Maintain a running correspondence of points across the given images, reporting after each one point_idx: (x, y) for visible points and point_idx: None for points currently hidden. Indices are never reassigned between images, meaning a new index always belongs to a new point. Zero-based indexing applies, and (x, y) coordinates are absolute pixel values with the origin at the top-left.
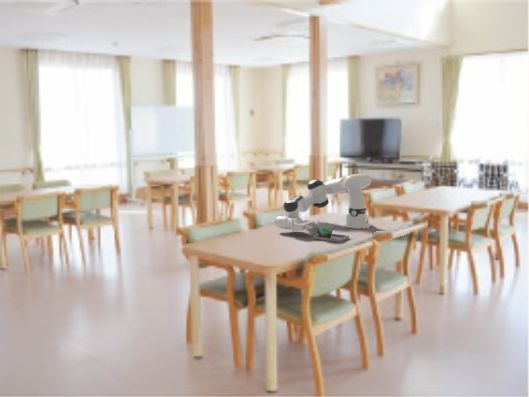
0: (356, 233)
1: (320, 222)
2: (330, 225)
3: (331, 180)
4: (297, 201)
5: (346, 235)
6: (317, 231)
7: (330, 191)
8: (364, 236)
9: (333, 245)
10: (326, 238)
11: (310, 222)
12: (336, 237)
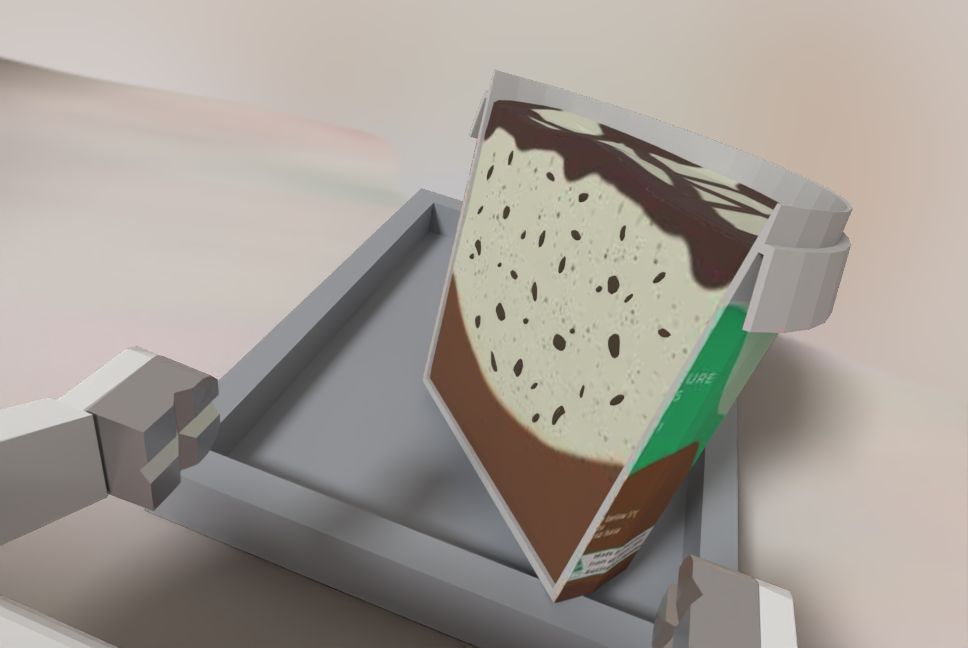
0: (62, 134)
1: (850, 211)
2: (711, 159)
3: None
4: None
5: (418, 204)
6: (641, 508)
7: None
8: (264, 124)
9: (914, 396)
10: (732, 427)
11: (40, 627)
12: (424, 317)
